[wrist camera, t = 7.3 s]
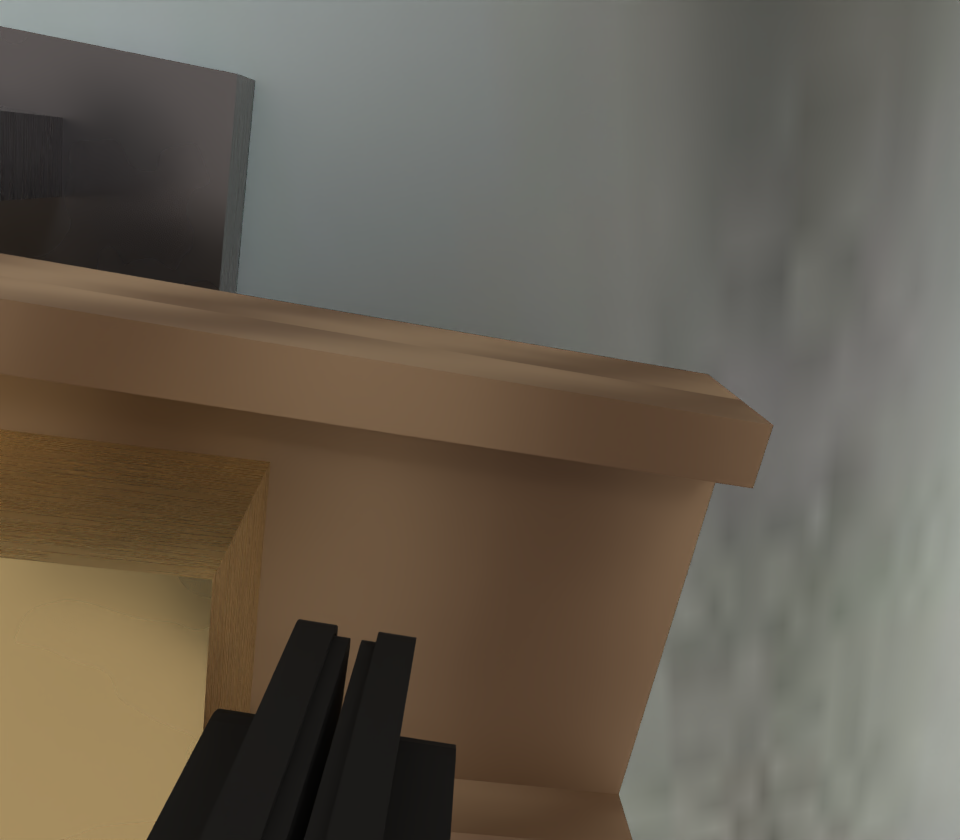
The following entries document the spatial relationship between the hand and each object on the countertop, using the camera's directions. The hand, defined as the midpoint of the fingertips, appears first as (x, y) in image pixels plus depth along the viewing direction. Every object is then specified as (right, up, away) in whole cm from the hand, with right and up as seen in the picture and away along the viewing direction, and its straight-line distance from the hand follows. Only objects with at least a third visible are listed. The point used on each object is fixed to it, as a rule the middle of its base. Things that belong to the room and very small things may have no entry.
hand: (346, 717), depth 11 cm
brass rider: (-5, +2, +2) cm, 5 cm away
